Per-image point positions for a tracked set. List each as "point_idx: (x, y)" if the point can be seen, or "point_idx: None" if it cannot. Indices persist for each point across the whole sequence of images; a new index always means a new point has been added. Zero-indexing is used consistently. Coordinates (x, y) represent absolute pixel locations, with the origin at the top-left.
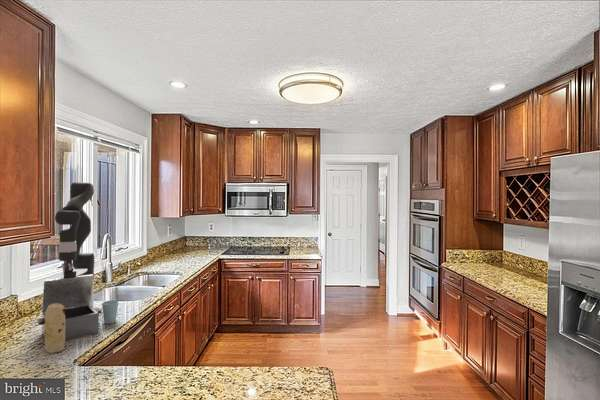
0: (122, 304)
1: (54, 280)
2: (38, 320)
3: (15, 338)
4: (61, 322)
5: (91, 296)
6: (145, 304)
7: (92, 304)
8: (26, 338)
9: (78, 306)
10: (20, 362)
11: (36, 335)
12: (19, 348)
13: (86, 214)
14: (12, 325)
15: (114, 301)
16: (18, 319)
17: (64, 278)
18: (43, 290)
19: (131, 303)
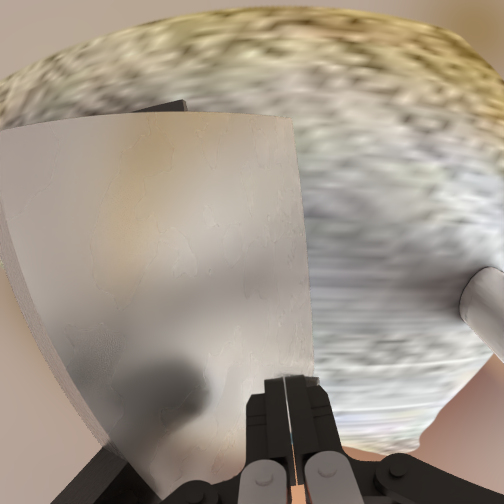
0: (432, 396)
1: (37, 330)
2: (149, 110)
3: (261, 34)
4: None
5: (488, 346)
6: (377, 443)
7: (472, 329)
8: (232, 72)
9: (484, 285)
10: (6, 109)
11: (251, 107)
12: (117, 67)
13: None
14: (448, 47)
15: (291, 439)
16: (500, 81)
17: (103, 456)
18: (167, 114)
19: (420, 415)
